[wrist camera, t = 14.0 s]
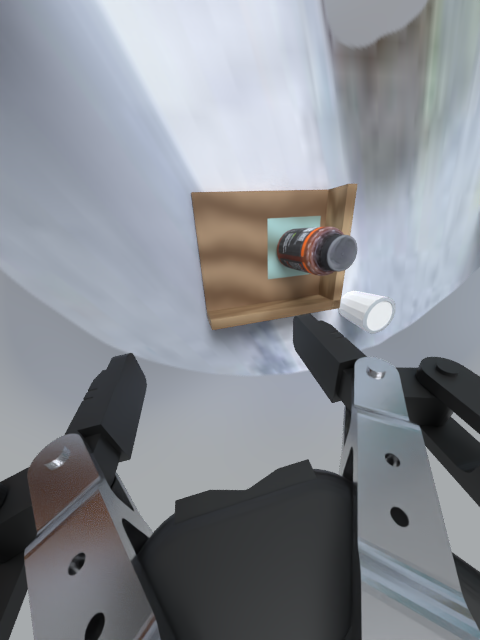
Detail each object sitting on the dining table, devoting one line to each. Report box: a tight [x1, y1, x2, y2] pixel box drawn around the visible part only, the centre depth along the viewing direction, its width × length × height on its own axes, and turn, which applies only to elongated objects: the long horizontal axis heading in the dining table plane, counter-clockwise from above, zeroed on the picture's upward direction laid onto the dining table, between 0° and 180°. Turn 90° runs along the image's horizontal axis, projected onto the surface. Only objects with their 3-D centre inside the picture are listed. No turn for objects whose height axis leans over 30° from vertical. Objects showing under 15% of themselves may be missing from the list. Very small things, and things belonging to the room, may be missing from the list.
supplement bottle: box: [277, 226, 357, 276], centre depth 28 cm, size 6×6×11 cm
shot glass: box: [338, 291, 395, 334], centre depth 39 cm, size 7×7×7 cm
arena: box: [191, 184, 357, 330], centre depth 31 cm, size 18×22×5 cm
